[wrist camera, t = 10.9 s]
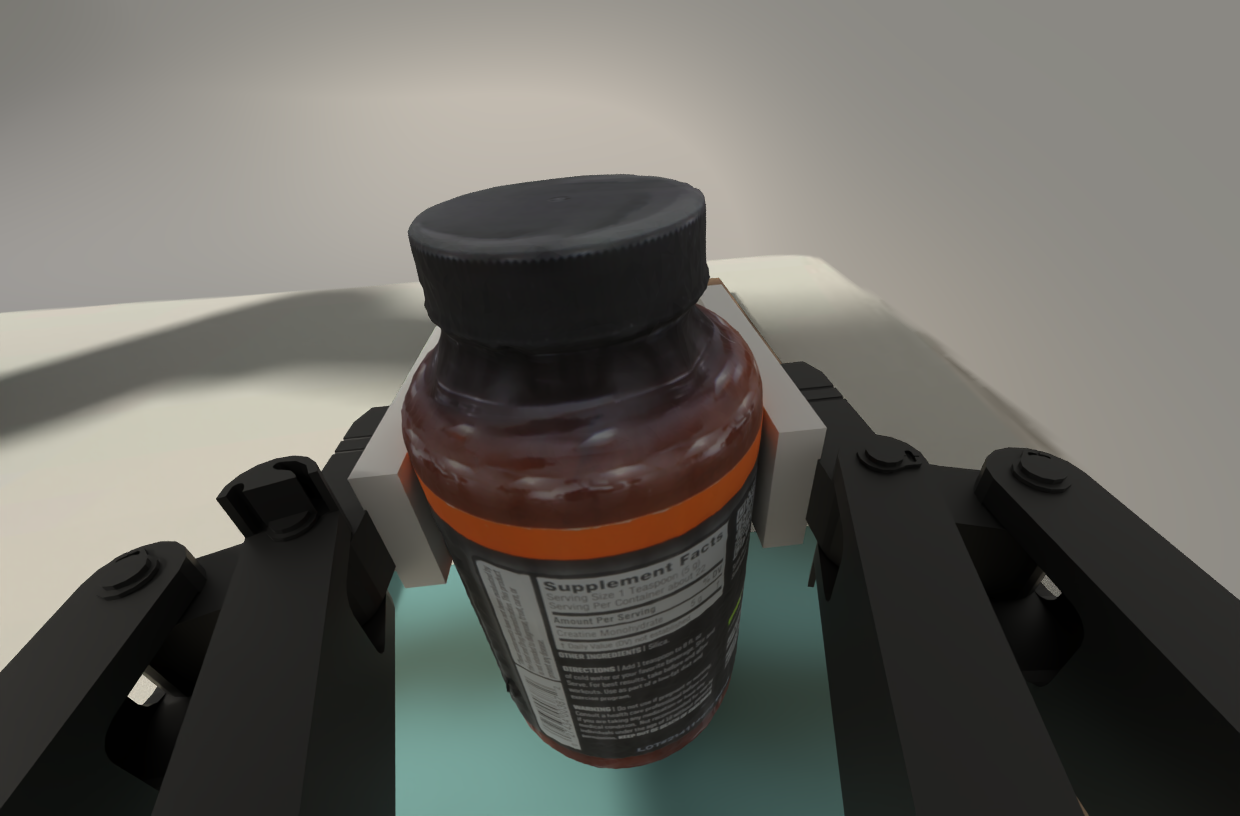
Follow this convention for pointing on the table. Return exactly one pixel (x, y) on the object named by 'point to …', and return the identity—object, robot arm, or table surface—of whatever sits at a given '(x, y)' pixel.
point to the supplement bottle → (589, 453)
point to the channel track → (628, 797)
